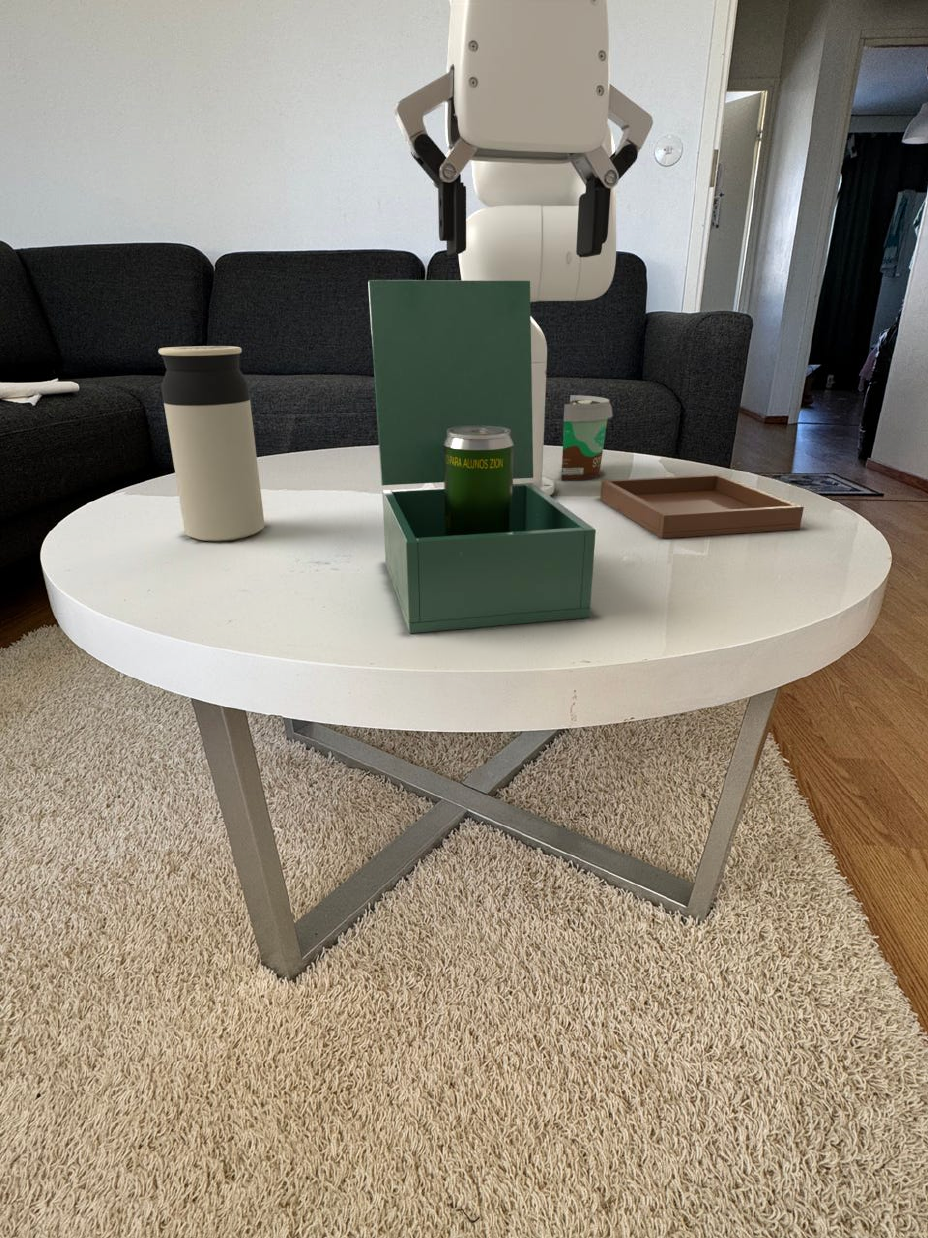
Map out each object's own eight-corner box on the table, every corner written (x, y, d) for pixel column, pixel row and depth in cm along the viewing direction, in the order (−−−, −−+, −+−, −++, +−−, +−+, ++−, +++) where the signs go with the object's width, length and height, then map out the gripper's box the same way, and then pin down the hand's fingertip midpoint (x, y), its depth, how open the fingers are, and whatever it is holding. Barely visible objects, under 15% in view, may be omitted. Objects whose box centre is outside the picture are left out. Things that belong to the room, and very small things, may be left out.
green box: (589, 617, 54) (596, 529, 51) (409, 633, 51) (406, 541, 49) (529, 554, 68) (532, 482, 65) (385, 564, 65) (382, 490, 63)
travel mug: (280, 526, 77) (261, 346, 70) (229, 546, 70) (201, 350, 63) (222, 518, 80) (198, 345, 73) (168, 537, 73) (135, 348, 66)
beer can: (522, 584, 58) (527, 432, 53) (462, 595, 56) (462, 437, 51) (491, 564, 63) (493, 423, 58) (434, 574, 60) (431, 427, 56)
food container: (607, 484, 95) (613, 405, 91) (560, 482, 96) (564, 404, 92) (608, 466, 106) (614, 395, 102) (566, 464, 107) (570, 394, 103)
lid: (530, 280, 61) (514, 293, 66) (368, 279, 58) (364, 292, 63) (533, 477, 65) (518, 476, 69) (382, 485, 62) (377, 483, 67)
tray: (599, 499, 87) (601, 480, 86) (717, 493, 90) (719, 474, 89) (661, 538, 72) (664, 515, 71) (800, 529, 75) (804, 506, 74)
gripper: (636, -22, 49) (616, 260, 55) (381, -48, 45) (392, 257, 52) (693, -77, 42) (662, 252, 49) (398, -112, 38) (409, 248, 45)
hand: (523, 254), depth 50 cm, fingers open, 9 cm apart
